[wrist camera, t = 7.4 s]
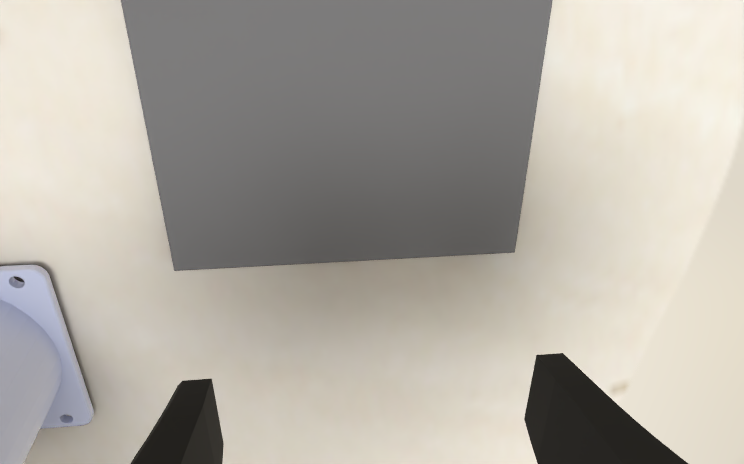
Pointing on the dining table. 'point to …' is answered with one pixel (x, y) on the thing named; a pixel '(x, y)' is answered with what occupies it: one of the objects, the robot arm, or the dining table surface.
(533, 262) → the dining table surface
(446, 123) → the rubber mat
